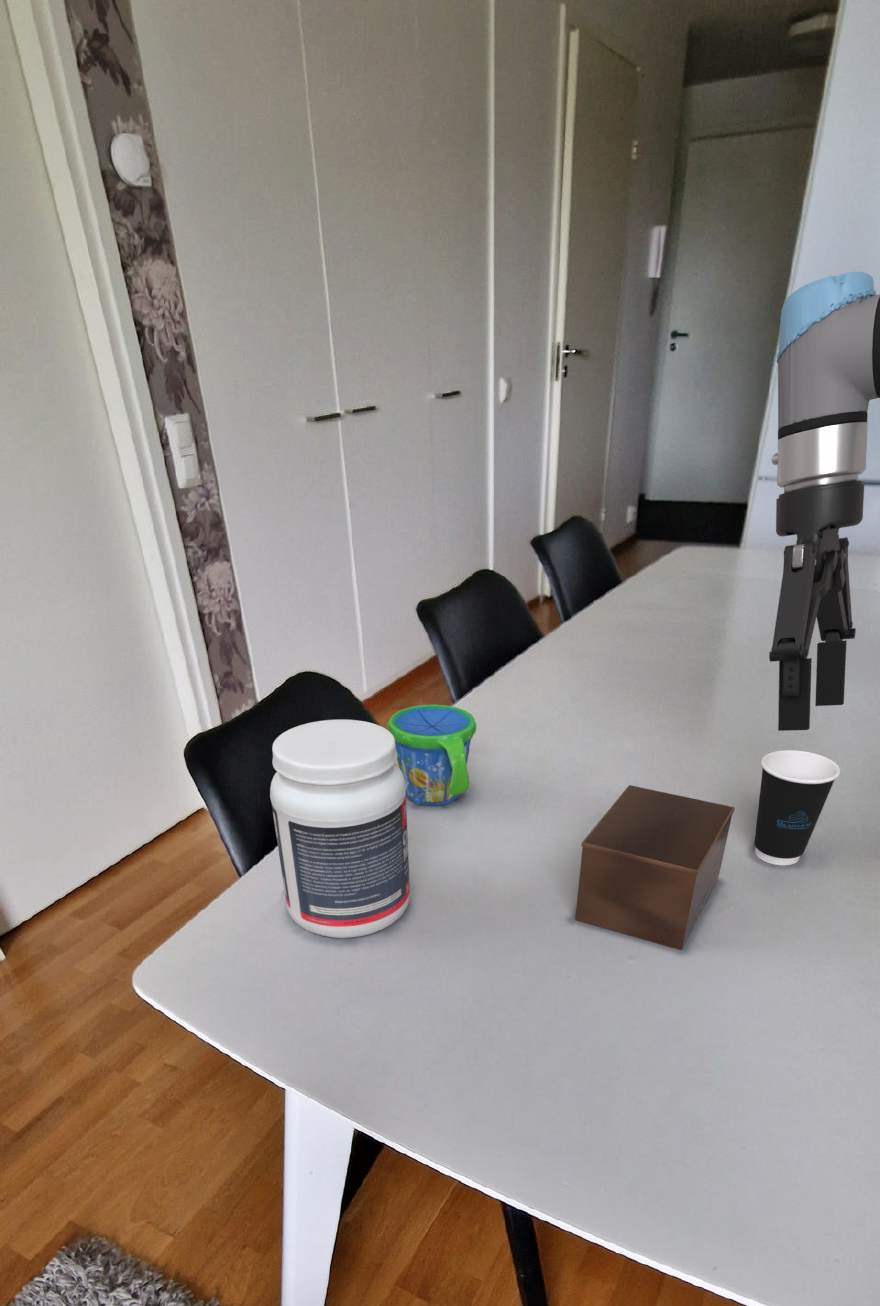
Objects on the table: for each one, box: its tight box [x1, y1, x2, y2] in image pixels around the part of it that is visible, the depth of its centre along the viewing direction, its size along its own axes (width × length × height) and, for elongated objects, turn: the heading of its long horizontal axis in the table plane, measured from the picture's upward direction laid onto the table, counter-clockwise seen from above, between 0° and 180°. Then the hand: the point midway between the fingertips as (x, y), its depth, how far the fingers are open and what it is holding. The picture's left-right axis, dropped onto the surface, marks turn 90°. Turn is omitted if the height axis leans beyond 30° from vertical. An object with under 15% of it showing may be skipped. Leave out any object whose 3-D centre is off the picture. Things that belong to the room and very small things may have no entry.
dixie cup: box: [753, 749, 841, 866], centre depth 93 cm, size 8×8×11 cm
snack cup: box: [387, 704, 477, 807], centre depth 106 cm, size 16×10×10 cm
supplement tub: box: [269, 719, 411, 939], centre depth 82 cm, size 13×13×18 cm
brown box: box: [574, 784, 736, 951], centre depth 86 cm, size 11×14×9 cm
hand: (812, 716), depth 87 cm, fingers open, 13 cm apart
